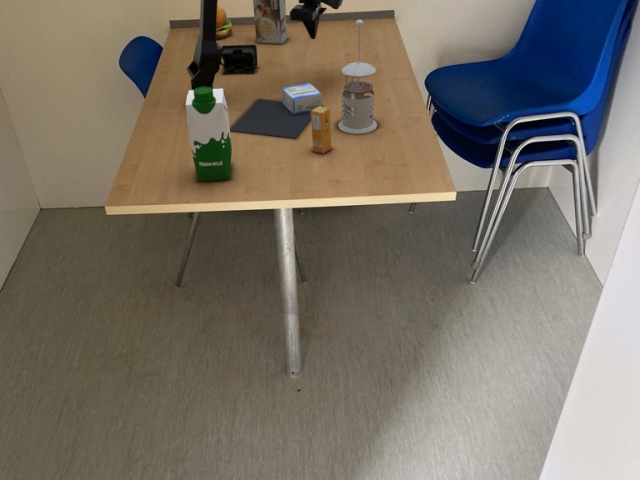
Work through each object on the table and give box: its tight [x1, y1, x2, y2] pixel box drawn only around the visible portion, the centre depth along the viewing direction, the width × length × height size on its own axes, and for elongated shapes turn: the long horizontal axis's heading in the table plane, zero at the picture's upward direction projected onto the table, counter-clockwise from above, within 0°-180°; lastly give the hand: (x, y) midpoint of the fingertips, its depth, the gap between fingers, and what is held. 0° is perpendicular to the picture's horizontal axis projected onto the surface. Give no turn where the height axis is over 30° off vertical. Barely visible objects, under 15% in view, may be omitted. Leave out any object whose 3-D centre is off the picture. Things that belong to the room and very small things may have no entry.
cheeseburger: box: [198, 5, 233, 39], centre depth 225 cm, size 10×11×10 cm
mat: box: [230, 98, 311, 140], centre depth 176 cm, size 20×18×1 cm
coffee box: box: [252, 0, 289, 45], centre depth 215 cm, size 9×6×16 cm
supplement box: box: [310, 106, 332, 155], centre depth 158 cm, size 3×3×10 cm
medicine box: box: [281, 82, 323, 115], centre depth 178 cm, size 8×4×9 cm
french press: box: [337, 19, 378, 135], centre depth 162 cm, size 10×12×25 cm
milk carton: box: [185, 87, 233, 182], centre depth 148 cm, size 9×9×20 cm
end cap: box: [221, 44, 258, 75], centre depth 201 cm, size 10×7×7 cm
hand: (313, 38), depth 184 cm, fingers closed
